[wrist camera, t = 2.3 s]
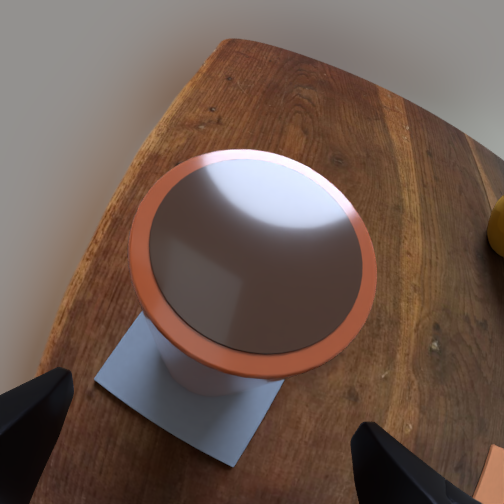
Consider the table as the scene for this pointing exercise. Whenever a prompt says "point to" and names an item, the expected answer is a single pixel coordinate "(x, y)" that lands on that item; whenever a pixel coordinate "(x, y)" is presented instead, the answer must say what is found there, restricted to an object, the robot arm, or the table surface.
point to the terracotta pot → (249, 270)
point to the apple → (497, 227)
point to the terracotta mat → (492, 478)
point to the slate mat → (182, 398)
